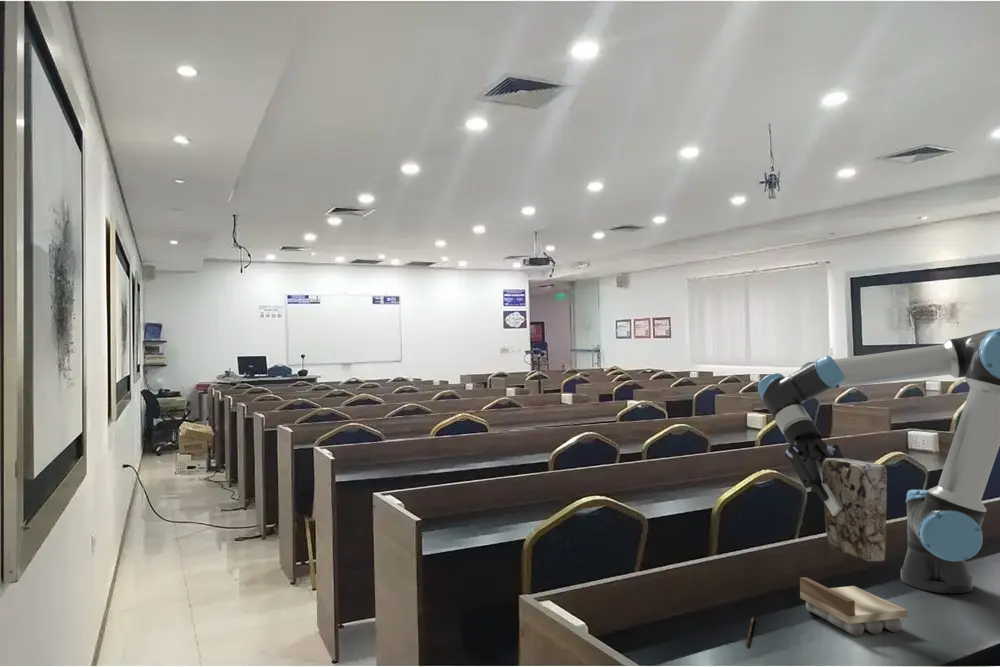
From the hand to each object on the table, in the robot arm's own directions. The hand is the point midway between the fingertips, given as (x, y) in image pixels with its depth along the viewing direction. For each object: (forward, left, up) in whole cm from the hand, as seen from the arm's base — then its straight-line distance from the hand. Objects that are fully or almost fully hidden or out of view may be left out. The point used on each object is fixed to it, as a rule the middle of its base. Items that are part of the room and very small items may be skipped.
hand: (849, 511), depth 147 cm
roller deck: (+1, +1, -23) cm, 23 cm away
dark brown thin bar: (+26, +1, -24) cm, 35 cm away
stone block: (0, +1, -9) cm, 9 cm away
